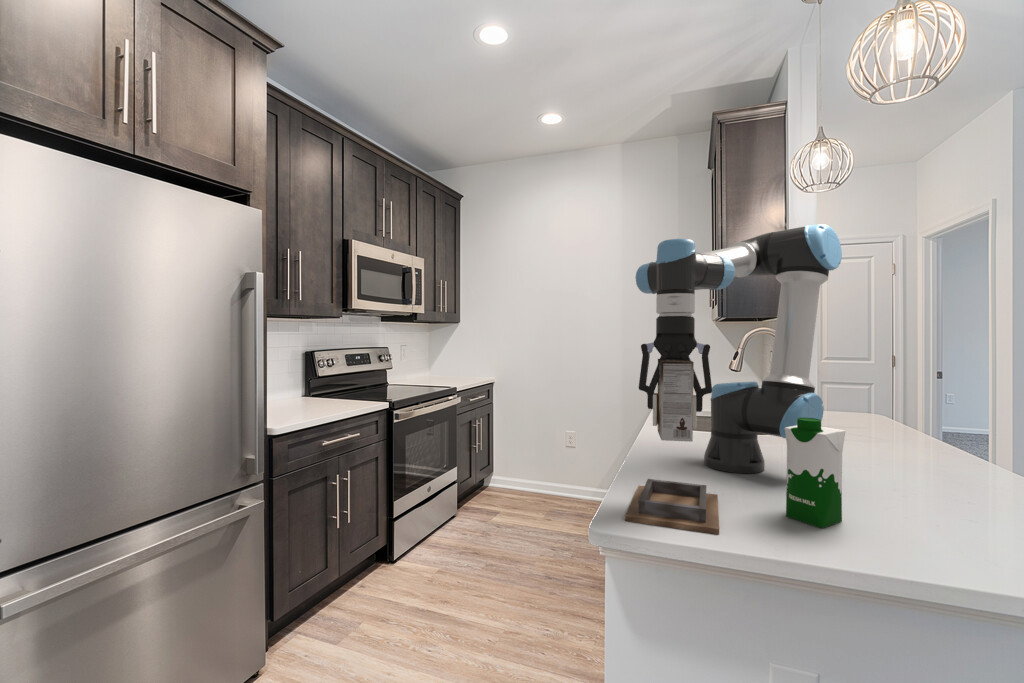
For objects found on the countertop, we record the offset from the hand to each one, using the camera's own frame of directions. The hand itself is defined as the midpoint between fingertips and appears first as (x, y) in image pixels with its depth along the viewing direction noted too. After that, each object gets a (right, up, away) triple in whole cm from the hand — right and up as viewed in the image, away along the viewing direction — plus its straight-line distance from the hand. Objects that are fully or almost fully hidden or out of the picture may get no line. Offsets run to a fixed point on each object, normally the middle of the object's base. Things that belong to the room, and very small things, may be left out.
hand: (674, 425), depth 101 cm
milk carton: (+26, -18, -5) cm, 32 cm away
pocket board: (0, -18, 0) cm, 18 cm away
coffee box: (0, -2, 0) cm, 2 cm away
